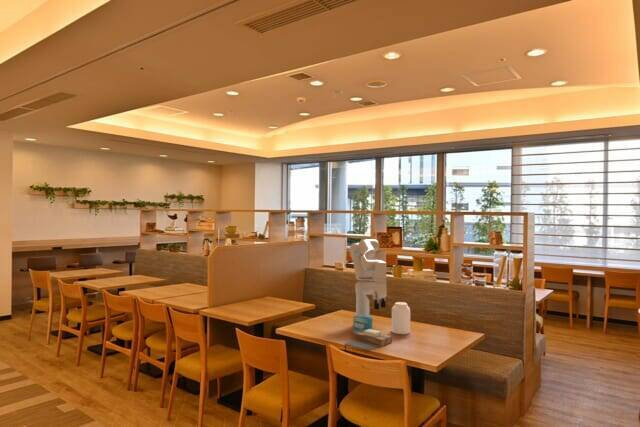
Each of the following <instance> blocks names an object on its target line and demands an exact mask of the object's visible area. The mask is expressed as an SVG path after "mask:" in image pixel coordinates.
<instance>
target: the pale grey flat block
mask: <svg viewBox="0 0 640 427" xmlns="http://www.w3.org/2000/svg"><path fill="white" fill-rule="evenodd" d="M381 333H382V331H381V330H376V329H373V328H372V329H367V330H365V331H364V335H368V336H372V337H378V336H381Z"/></svg>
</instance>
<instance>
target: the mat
mask: <svg viewBox="0 0 640 427" xmlns="http://www.w3.org/2000/svg"><path fill="white" fill-rule="evenodd" d="M344 345H346V346H350V347H354V348H357V349H362V350H364V351H371V350H374V349H377V348H379V347H381V346H380V345H376V344H372V343H368V342H364V341H360V340H355V339H354V340H351V341H348V342H345V343H344Z"/></svg>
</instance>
